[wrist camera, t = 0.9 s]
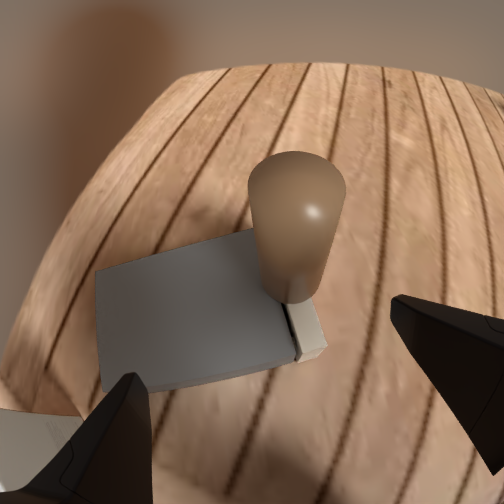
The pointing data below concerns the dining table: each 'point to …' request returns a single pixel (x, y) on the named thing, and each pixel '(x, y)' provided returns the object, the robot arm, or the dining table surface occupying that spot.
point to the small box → (30, 444)
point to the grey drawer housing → (189, 316)
